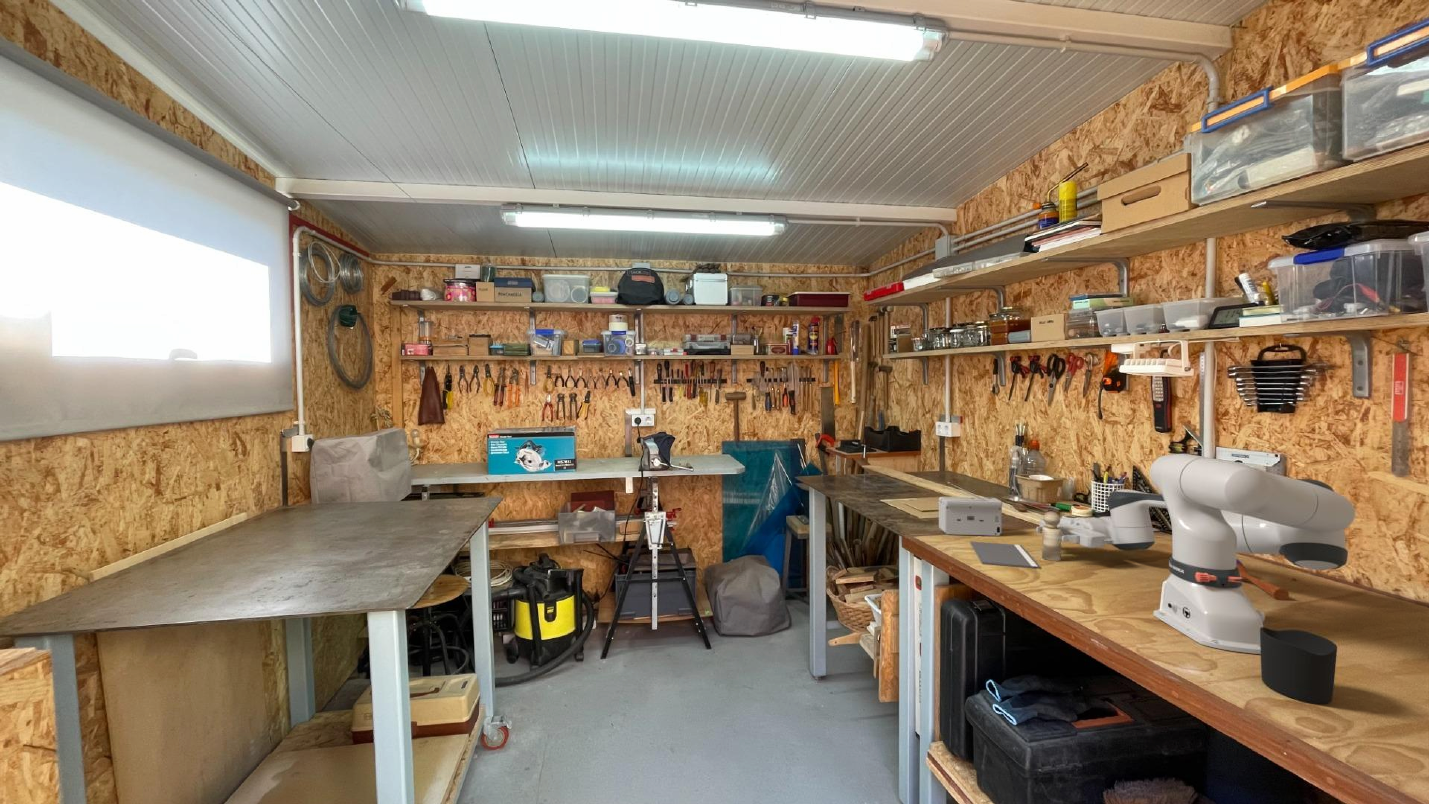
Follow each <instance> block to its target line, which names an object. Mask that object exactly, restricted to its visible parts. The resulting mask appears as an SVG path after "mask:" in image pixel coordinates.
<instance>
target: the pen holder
mask: <svg viewBox="0 0 1429 804" xmlns="http://www.w3.org/2000/svg"><path fill="white" fill-rule="evenodd" d="M1260 648H1261V654H1260V670H1261V671H1260V672H1261V673H1260V674H1261V680H1262V683H1264V685H1265V686H1266V687H1267V688H1269V689H1270V690H1272V691H1273V692H1276V693H1277V694H1280V695H1281V696H1284V697H1287V698H1289V699H1293V700H1296V701H1299V702H1303V703H1310V704H1313V705H1325V704H1329V703H1331V702H1332V700H1333V695H1334V687H1335V677H1336V676H1335V675H1336V667H1337V655H1338V654H1337V652H1338V645H1337V644H1336V643H1335V642H1333V641H1332V640H1330V639H1327V638H1325V637H1324V636H1321V635H1319V634H1315V633H1312V632H1309V631H1306V630H1301V629H1281V630H1278V629H1277V630H1276V629H1275V630H1274V629H1271V628H1269V627H1264V626H1263V627H1261V628H1260Z"/></svg>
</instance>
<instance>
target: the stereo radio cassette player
mask: <svg viewBox="0 0 1429 804" xmlns="http://www.w3.org/2000/svg"><path fill="white" fill-rule="evenodd" d="M947 484H950V485H951V486H954V487H955V488H958V489H960V490H961V491H964V492H965V493H967V494H969V495H971V496H972V497H967V496H966V497H964V496H962V497H960V496H957V497H956V496H940V497H938V527H939V529H940V530H941V531H942V532H943V533H945V534H946V535H947V536H949V535H954V536H955V535H957V536H958V535H960V536H963V535H965V536H990V537H991V536H993V537H994V536H995V537H1000V535H1001V534H1002V531H1003V529H1002V528H1003V527H1002V526H1003V525H1002V522H1003V521H1002V519H1003V512H1002V511H1003V502H1002V500H1000V499H998V498H996V497H980V496H978V495H976V494H974V493H972V492H970V491H968V490H965V489H964V488H962V487H959V486H957V485H955V484H953V483H951V482H950V481H948V482H947Z"/></svg>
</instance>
